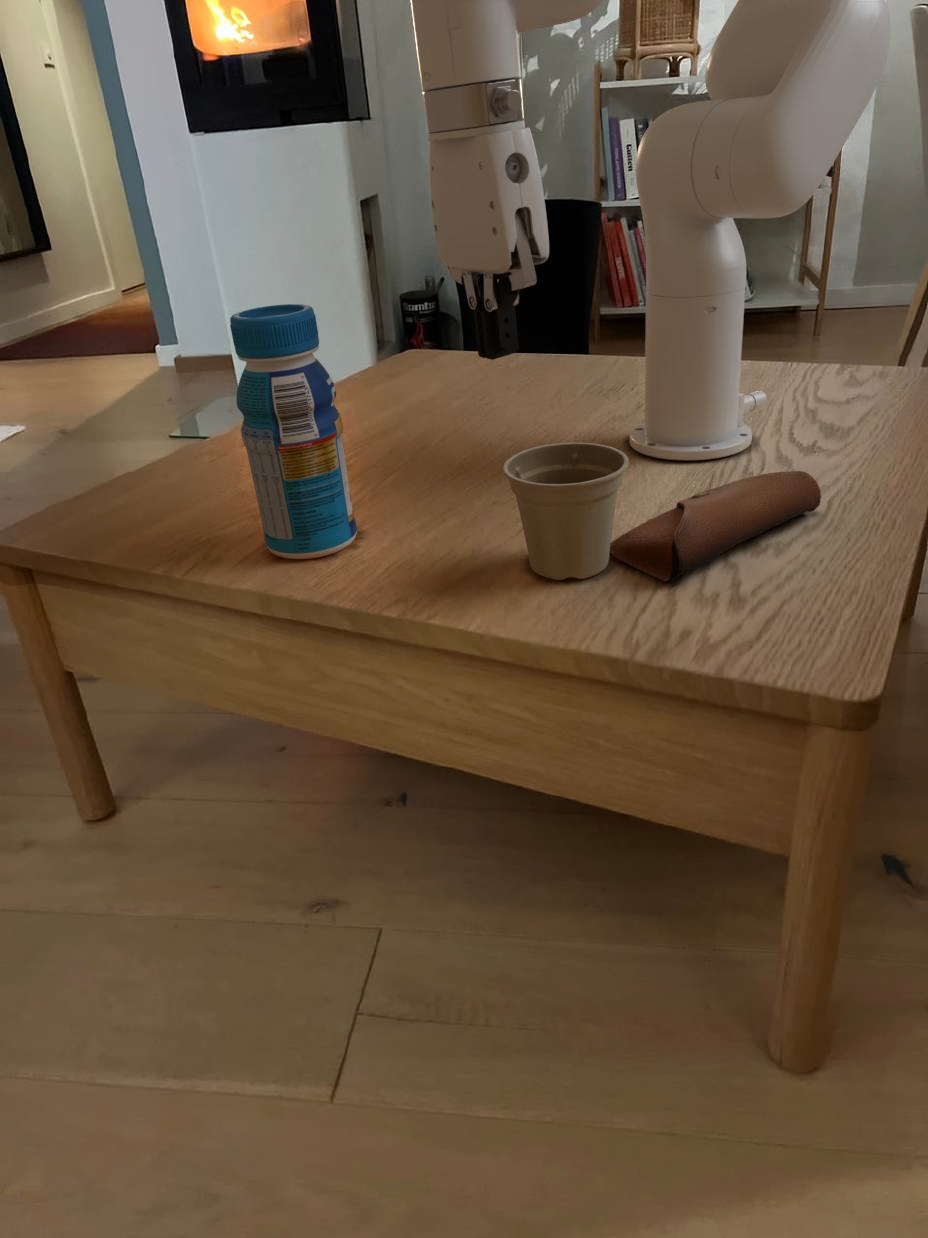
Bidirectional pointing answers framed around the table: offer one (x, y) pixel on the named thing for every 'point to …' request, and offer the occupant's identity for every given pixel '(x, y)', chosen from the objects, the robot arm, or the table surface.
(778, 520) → the sunglasses case
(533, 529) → the flower pot
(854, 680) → the table surface
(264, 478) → the beverage bottle
